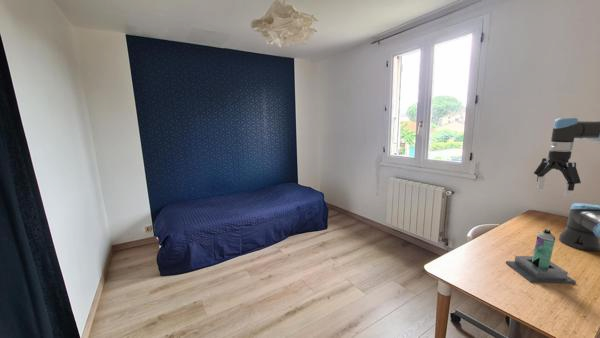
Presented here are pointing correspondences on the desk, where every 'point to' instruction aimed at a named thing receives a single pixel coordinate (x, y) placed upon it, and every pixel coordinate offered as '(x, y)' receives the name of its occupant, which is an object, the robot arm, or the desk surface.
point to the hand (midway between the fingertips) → (552, 192)
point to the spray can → (543, 249)
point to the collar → (539, 271)
